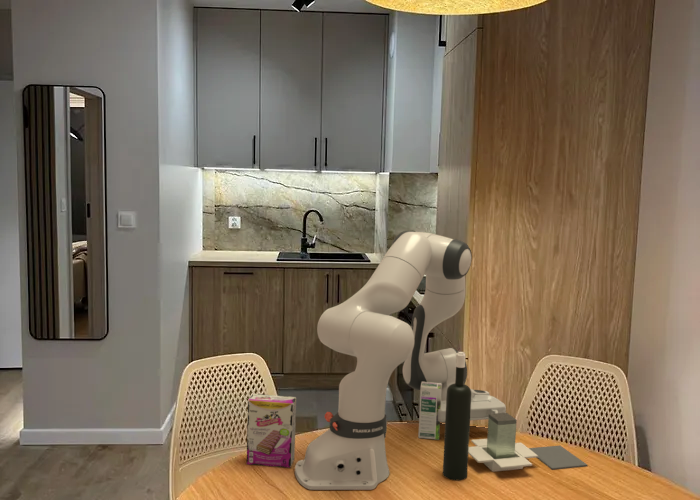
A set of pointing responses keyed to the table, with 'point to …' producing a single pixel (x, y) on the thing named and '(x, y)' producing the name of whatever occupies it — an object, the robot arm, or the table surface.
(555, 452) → the mat
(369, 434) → the robot arm
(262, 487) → the table surface
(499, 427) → the tea tin
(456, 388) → the wine bottle
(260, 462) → the candy bar box
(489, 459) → the carton
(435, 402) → the syrup box
